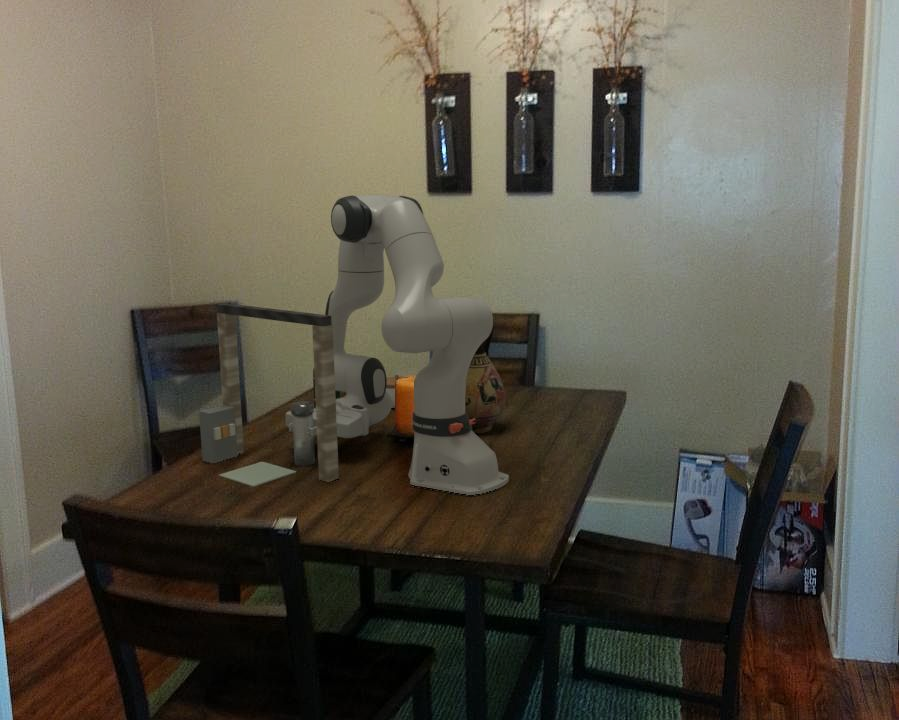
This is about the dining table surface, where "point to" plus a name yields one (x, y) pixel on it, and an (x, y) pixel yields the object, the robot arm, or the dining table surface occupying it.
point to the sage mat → (257, 474)
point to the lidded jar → (392, 387)
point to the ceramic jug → (483, 390)
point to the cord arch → (321, 372)
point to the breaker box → (218, 433)
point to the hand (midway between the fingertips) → (300, 430)
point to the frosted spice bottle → (303, 432)
